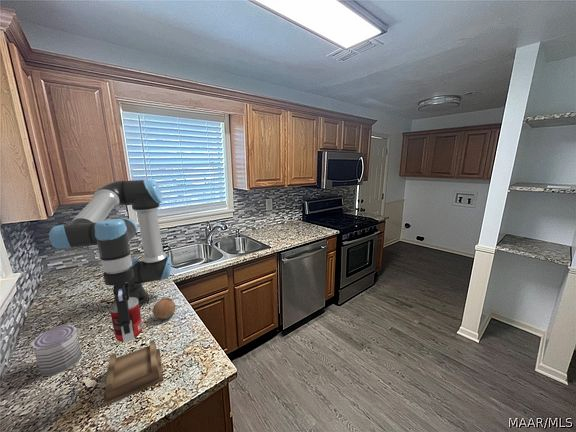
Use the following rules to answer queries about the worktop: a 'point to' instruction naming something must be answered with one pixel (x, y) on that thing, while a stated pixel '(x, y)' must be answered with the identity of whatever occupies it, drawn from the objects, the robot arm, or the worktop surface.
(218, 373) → the worktop surface
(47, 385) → the worktop surface
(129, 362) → the brown square tray
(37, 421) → the worktop surface
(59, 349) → the can
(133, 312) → the canned food
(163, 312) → the onion
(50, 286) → the worktop surface
